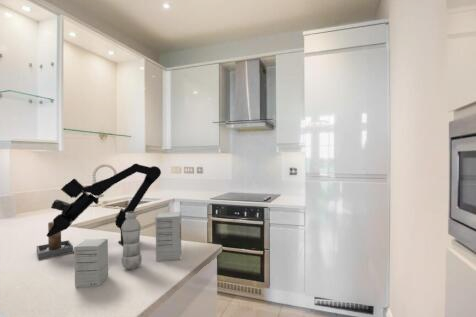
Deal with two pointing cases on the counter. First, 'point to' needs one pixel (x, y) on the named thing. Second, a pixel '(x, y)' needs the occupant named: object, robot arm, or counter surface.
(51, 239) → the scraper handle
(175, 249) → the supplement box
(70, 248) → the tray
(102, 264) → the supplement box
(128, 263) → the plastic bottle
